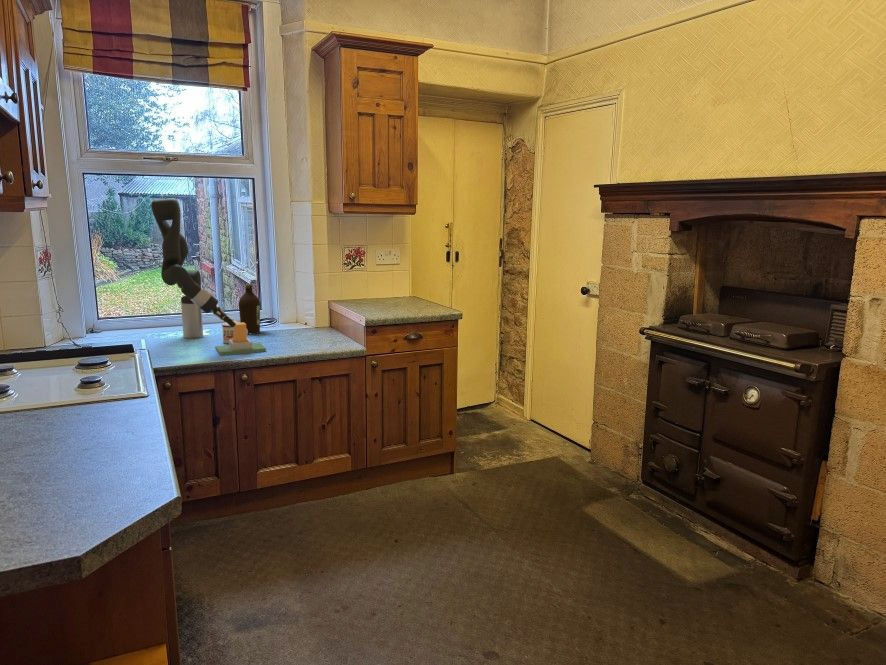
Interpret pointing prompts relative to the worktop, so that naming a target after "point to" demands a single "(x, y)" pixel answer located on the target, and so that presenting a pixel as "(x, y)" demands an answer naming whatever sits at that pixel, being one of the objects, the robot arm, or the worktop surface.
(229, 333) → the teacup with lid
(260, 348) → the deck plate
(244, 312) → the olive oil
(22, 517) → the worktop surface
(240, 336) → the orange wooden block
